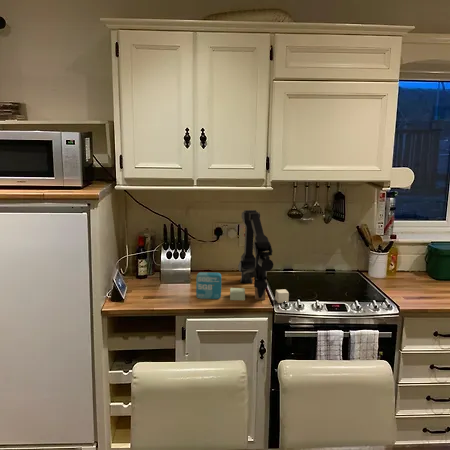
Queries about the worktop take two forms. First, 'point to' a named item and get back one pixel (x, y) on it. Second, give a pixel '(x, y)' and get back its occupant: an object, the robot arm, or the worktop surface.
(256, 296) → the walnut cube
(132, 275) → the worktop surface
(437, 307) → the worktop surface
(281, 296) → the offwhite cube
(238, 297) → the sage base block
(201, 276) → the data package
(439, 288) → the worktop surface
